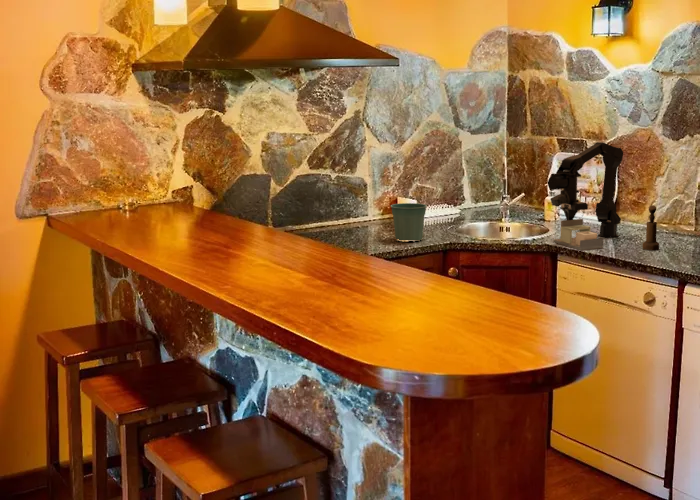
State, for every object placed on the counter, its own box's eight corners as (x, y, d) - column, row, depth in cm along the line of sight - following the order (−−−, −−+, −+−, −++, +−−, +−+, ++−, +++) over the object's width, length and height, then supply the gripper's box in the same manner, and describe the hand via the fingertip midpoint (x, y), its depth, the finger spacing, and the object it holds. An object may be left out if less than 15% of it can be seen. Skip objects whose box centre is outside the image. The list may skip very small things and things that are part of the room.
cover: (580, 238, 354) (581, 218, 352) (590, 241, 348) (590, 221, 346) (560, 240, 351) (561, 220, 349) (569, 243, 345) (570, 223, 343)
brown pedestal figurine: (639, 247, 339) (641, 204, 336) (654, 246, 340) (656, 204, 336) (646, 250, 333) (648, 206, 329) (662, 250, 333) (664, 206, 330)
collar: (588, 242, 346) (588, 231, 345) (596, 245, 340) (596, 233, 339) (575, 244, 344) (576, 232, 343) (584, 246, 339) (584, 234, 338)
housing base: (575, 240, 359) (575, 230, 358) (603, 248, 340) (603, 237, 339) (553, 242, 356) (553, 232, 355) (580, 250, 337) (580, 240, 336)
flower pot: (419, 236, 380) (418, 201, 377) (433, 242, 364) (432, 206, 361) (386, 239, 375) (385, 204, 372) (398, 245, 360) (397, 209, 357)
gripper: (541, 186, 356) (541, 222, 359) (565, 191, 338) (565, 228, 341) (564, 185, 359) (563, 220, 362) (589, 189, 342) (588, 226, 345)
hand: (569, 223), depth 353 cm, fingers closed
